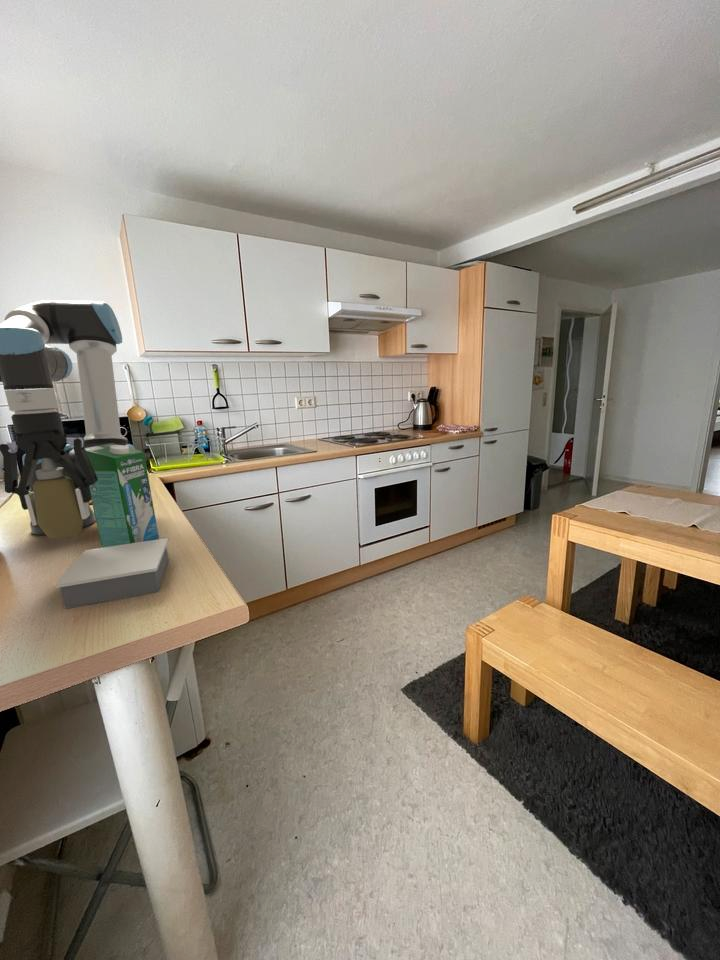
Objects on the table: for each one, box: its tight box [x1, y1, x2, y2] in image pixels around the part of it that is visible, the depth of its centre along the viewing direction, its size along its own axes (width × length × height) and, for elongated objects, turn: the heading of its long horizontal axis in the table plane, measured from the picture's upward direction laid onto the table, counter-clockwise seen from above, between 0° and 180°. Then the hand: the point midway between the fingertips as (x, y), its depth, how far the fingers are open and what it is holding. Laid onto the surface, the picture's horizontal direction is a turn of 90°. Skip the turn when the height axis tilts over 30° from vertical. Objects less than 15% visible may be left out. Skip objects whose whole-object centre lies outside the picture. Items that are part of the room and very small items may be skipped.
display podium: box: [54, 537, 170, 609], centre depth 77 cm, size 16×16×5 cm
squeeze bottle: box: [33, 458, 84, 540], centre depth 81 cm, size 8×8×18 cm
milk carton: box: [85, 443, 160, 548], centre depth 95 cm, size 9×9×25 cm
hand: (62, 519), depth 82 cm, fingers closed on squeeze bottle, 8 cm apart
